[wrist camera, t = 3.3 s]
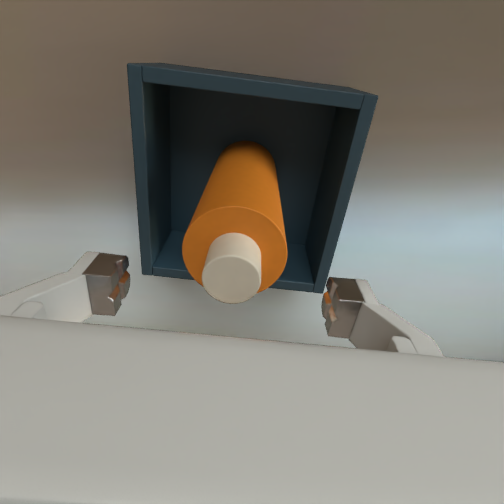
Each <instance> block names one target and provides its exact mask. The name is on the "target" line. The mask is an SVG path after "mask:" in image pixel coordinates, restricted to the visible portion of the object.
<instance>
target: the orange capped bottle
mask: <svg viewBox="0 0 504 504" xmlns="http://www.w3.org/2000/svg"><path fill="white" fill-rule="evenodd" d="M182 255H183V260H184V263H185V266H186V268H187V270H188V271H189V273H190V274H191V276H192V277H193V278H194V279H195V280H196V281H197V282H198V283H199V284H200V285H202V286H203V287H204V288H205V290H206V291H207V293H208V294H209V295H210V296H212V297H213V298H214V299H216V300H218V301H221V302H224V303H229V304H236V303H241V302H245V301H247V300H249V299H250V298H252V297H253V296H254V295H255V294H256V293H259V292H261V291H263V290H265V289H267V288H268V287H270V286H271V285H272V284H273V283H274V282H275V281H276V280H277V279H278V278H279V277H280V275H281V274H282V272H283V270H284V268H285V265H286V262H287V255H288V254H287V243H286V236H285V229H284V222H283V215H282V208H281V201H280V194H279V187H278V180H277V173H276V167H275V162H274V159H273V157H272V156H271V154H270V153H269V151H268V150H267V149H266V148H264V147H263V146H262V145H260V144H258V143H255V142H252V141H239V142H235V143H233V144H231V145H229V146H228V147H226V148H225V149H224V150H223V151H222V153H221V154H220V156H219V158H218V160H217V162H216V164H215V167H214V169H213V171H212V174H211V176H210V178H209V181H208V183H207V185H206V187H205V190H204V192H203V194H202V197H201V199H200V201H199V203H198V206H197V208H196V210H195V213H194V215H193V217H192V220H191V222H190V224H189V226H188V229H187V231H186V233H185V236H184V239H183V243H182Z"/></svg>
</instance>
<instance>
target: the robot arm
mask: <svg viewBox="0 0 504 504" xmlns="http://www.w3.org/2000/svg"><path fill="white" fill-rule="evenodd" d="M128 266H129V261H128V257H127V256H123V255H115V254H107V253H100V252H86V253H85V254H84V255H83V256H82V257H81V258H80V259H79V260H78V261H77V262H76V264H75V265H74V266H73V267H72V268H71V269H70V270H69V271H68V272H67V273H60V274H58V275H55V276H53V277H50V278H47V279H45V280H42V281H39V282H37V283H34V284H32V285H29V286H26V287H24V288H21V289H18V290H16V291H13V292H10V293H8V294H5V295H3V296H0V504H504V362H496V361H485V360H474V359H463V358H453V357H444V355H443V353H442V352H441V350H440V349H439V347H438V346H437V344H436V342H435V341H434V339H433V338H431V337H430V336H428V335H427V334H425V333H424V332H422V331H421V330H419V329H418V328H417V327H415V326H414V325H412V324H411V323H409V322H408V321H406V320H405V319H403V318H402V317H400V316H399V315H398V314H396V313H395V312H393V311H392V310H390V309H389V308H387V307H386V306H384V305H383V304H379V303H378V301H377V299H376V297H375V295H374V293H373V291H372V289H371V287H370V285H369V283H368V281H367V280H362V279H347V278H334V277H329V279H328V281H327V284H326V287H327V290H328V291H327V292H326V293H324V295H323V299H322V306H321V308H322V315H323V317H324V318H325V319H326V322H325V327H326V330H327V334H328V336H332V337H340V338H349V340H350V341H351V342H352V343H353V344H354V346H355V347H356V348H346V347H335V346H325V345H314V344H303V343H292V342H282V341H271V340H260V339H249V338H239V337H228V336H217V335H207V334H196V333H185V332H175V331H164V330H153V329H142V328H132V327H121V326H110V325H100V324H89V323H82V322H83V321H85V320H86V319H88V318H89V317H91V316H92V314H96V315H110V316H115V315H116V313H117V311H118V310H119V308H120V306H121V299H123V298H125V297H126V296H127V294H128V291H129V287H130V274H129V273H128V272H127V271H126V269H127V268H128Z"/></svg>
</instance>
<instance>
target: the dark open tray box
mask: <svg viewBox="0 0 504 504" xmlns="http://www.w3.org/2000/svg"><path fill="white" fill-rule="evenodd" d="M127 72H128V86H129V100H130V114H131V128H132V142H133V155H134V169H135V183H136V197H137V211H138V225H139V239H140V253H141V266H142V274H143V275H153V276H162V277H171V278H181V279H190V280H195V279H194V278H193V277H192V276H191V274H190V273H189V271H188V270H187V268H186V266H185V263H184V260H183V255H182V243H183V239H184V236H185V233H186V231H187V229H188V226H189V224H190V222H191V220H192V217H193V215H194V213H195V210H196V208H197V206H198V203H199V201H200V199H201V197H202V194H203V192H204V190H205V187H206V185H207V183H208V181H209V178H210V176H211V174H212V171H213V169H214V167H215V164H216V162H217V160H218V158H219V156H220V154H221V153H222V151H223V150H224V149H225V148H226V147H228V146H229V145H231V144H233V143H235V142H239V141H252V142H255V143H258V144H260V145H262V146H263V147H264V148H266V149H267V150H268V151H269V153H270V154H271V156H272V157H273V159H274V162H275V167H276V173H277V180H278V187H279V194H280V201H281V208H282V215H283V222H284V229H285V236H286V243H287V254H288V255H287V262H286V265H285V268H284V270H283V272H282V274H281V275H280V277H279V278H278V279H277V280H276V281H275V282H274V283H273V284H272V285H271V286H270V287H268V288H276V289H285V290H295V291H305V292H312V291H313V293H323V291H324V288H325V284H326V280H327V277H328V273H329V270H330V266H331V263H332V259H333V256H334V252H335V249H336V245H337V242H338V238H339V234H340V231H341V227H342V224H343V220H344V217H345V213H346V210H347V206H348V203H349V199H350V195H351V192H352V188H353V185H354V181H355V178H356V174H357V171H358V167H359V164H360V160H361V157H362V153H363V149H364V146H365V142H366V139H367V135H368V132H369V128H370V125H371V121H372V118H373V114H374V110H375V107H376V103H377V100H378V96H377V95H374V94H370V93H367V92H363V91H360V90H357V89H353V88H350V87H342V86H335V85H327V84H319V83H312V82H304V81H296V80H289V79H281V78H273V77H265V76H258V75H250V74H242V73H235V72H227V71H219V70H212V69H204V68H196V67H188V66H181V65H173V64H165V63H128V64H127Z"/></svg>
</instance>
